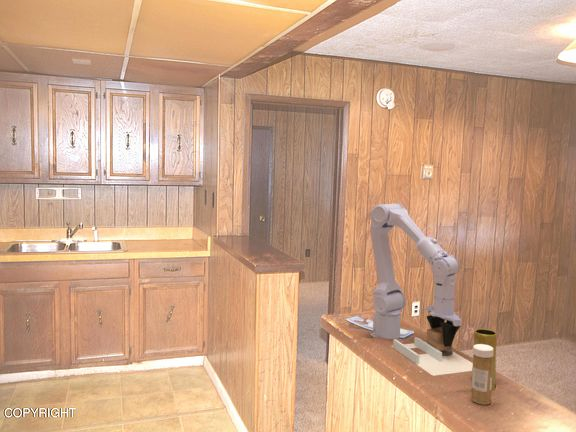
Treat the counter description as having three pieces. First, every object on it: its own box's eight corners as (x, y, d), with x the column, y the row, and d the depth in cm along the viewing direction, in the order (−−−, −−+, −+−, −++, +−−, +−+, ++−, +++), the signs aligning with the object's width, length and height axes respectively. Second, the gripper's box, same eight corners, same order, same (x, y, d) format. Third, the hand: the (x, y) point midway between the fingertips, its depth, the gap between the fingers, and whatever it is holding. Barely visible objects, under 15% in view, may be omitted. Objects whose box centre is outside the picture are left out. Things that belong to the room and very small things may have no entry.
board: (390, 350, 155) (390, 345, 154) (435, 345, 159) (435, 341, 159) (432, 381, 133) (432, 375, 132) (482, 374, 137) (483, 369, 137)
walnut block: (441, 343, 152) (441, 327, 151) (451, 348, 147) (451, 332, 147) (427, 345, 150) (426, 329, 150) (436, 351, 146) (436, 334, 145)
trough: (393, 347, 153) (393, 339, 153) (416, 344, 155) (416, 337, 155) (416, 364, 140) (416, 355, 140) (441, 361, 142) (442, 352, 142)
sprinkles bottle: (495, 402, 121) (497, 347, 120) (483, 407, 118) (485, 351, 117) (478, 395, 125) (481, 342, 123) (466, 399, 122) (469, 345, 121)
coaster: (427, 349, 151) (427, 348, 151) (445, 347, 153) (445, 346, 153) (438, 357, 146) (439, 355, 145) (457, 354, 147) (457, 353, 147)
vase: (465, 382, 132) (467, 329, 130) (484, 379, 134) (486, 327, 133) (482, 392, 126) (484, 337, 125) (501, 389, 128) (504, 334, 127)
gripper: (418, 292, 153) (417, 335, 155) (446, 305, 140) (444, 352, 141) (439, 290, 155) (437, 333, 157) (468, 303, 142) (466, 350, 143)
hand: (442, 342), depth 149 cm, fingers closed on walnut block, 5 cm apart
